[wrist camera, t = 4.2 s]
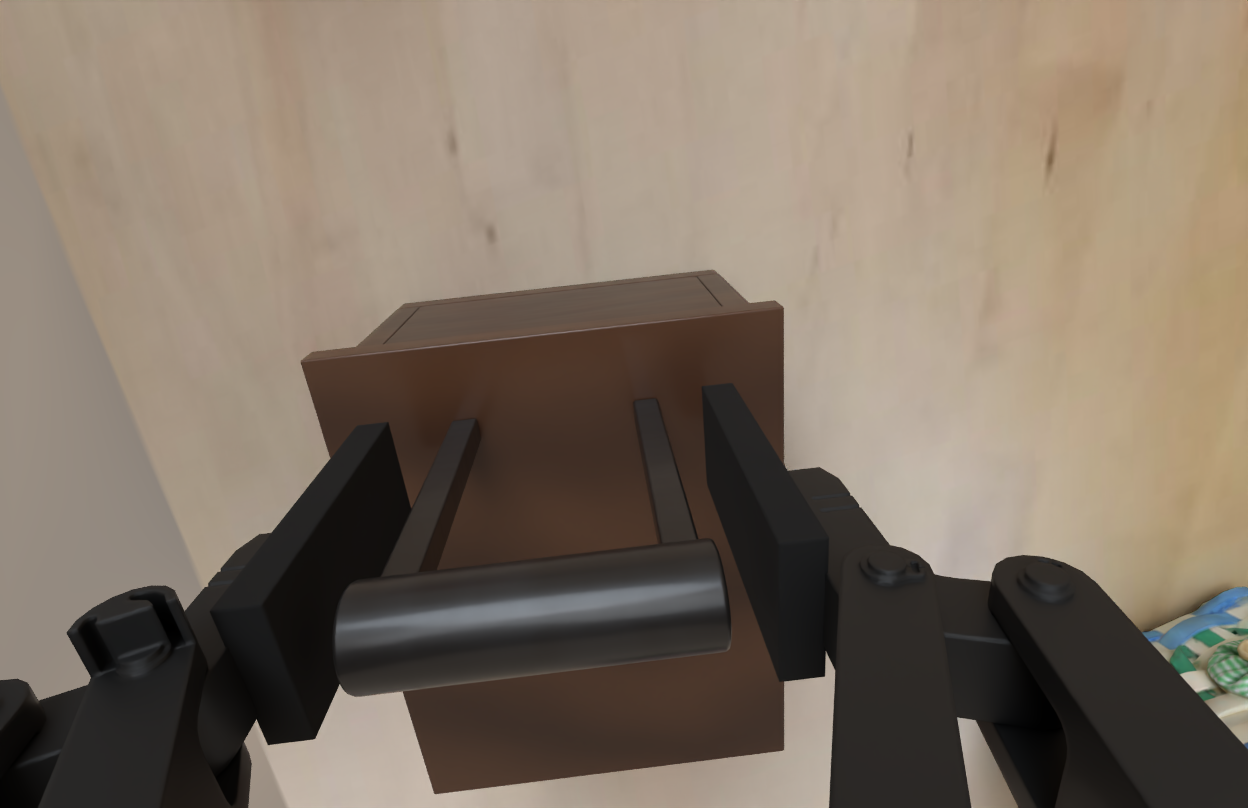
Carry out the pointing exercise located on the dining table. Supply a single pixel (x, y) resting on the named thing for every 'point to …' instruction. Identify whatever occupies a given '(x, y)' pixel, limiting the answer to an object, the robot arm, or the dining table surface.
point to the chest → (555, 306)
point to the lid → (560, 545)
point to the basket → (1213, 655)
